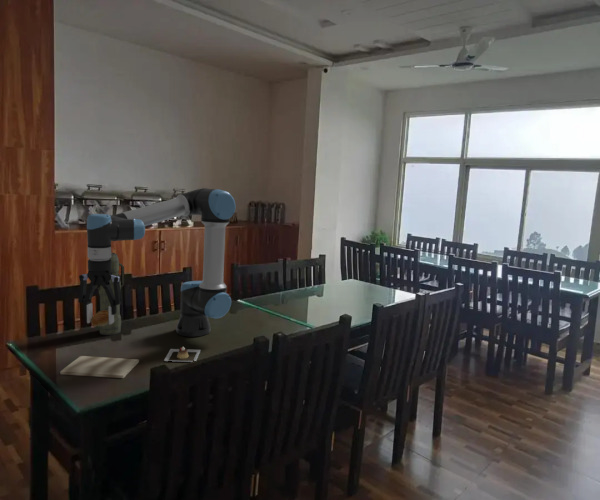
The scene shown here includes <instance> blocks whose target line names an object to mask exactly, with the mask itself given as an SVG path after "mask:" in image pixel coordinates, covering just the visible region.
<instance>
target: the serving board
mask: <svg viewBox="0 0 600 500" xmlns="http://www.w3.org/2000/svg"><path fill="white" fill-rule="evenodd" d="M139 362H140V359H138V358H137V359H136V358H123V357H122V358H119V357H105V356H104V357H103V356H90V355H89V356H88V355H87V356H86V355H80V356H78V358H76V359H75V360H73V361H72V362H71V363H69V364H68V365H67V366H65V367H64V368H63V369H62V370H60V373H59V374H60V375H67V376H69V375H70V376H84V377H85V376H86V377H98V378H99V377H100V378H116V379H124V378H126V376H127V375H128V374H129V373H130V372H131V371H132V370H133V369H134V368H135V367H136V366H137V365H138V364H139Z"/></svg>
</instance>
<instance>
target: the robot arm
mask: <svg viewBox="0 0 600 500" xmlns="http://www.w3.org/2000/svg"><path fill="white" fill-rule="evenodd" d="M235 212H236V201H235V198H234V197H233V196H232V195H231V193H230V192H228V191H226V190H222V189H218V188H217V189H215V188H203V187H202V188H198V189H197V188H196V189H194V190H191V191H187V192H184V193H180V194H178V195H176V197H174V198H172V199H168V200H167V199H166V200H164V201H160V202H156V203H153V204H149V205H146V206H143V207H138V208H135V209H130V210H127V211H124V212H120V213H116V214H108V213H107V214H105V213H91V214H89V215H87V219H86V236H87V237H86V238H87V242H86V243H87V258H88V260H87V270H88V271H87V273H82V274H80V275H79V276H78V280H79V291H78V292H79V293H78V303H80V304H83V307H84V309H83V310H84V313H85V314H86V323H87V324H91V323H92V321H91V319H92V318H93V316H94V315H93V314H94V313H93V309H94V308H93V306H94V305H93V302H92V301H91V300H92V298H93V295H94V292H95V290H96V286H97V285H100V286H103V288H104V289H105V292H106V294H107V297H108V299H109V302H110V304H111V305H110V306H109V324H112V323H114V315H115V314H116V312H117V309H116V306H117V305H119V304H120V305H121V304H122V302H123V298H122V291H121V290H120V281H121V275H119V276H114V275H113V274H112V272H111V259H109V258H111V253H112V242H118V241H135V240H137V241H138V240H141V239H144V237H145V234H146V227H148V226H150V225H154V224H157V223H160V222H164V221H167V220H171V219H174V218H177V217H181V216H182V217H189V216H201V218H200V220H201V221H200V222H201V224H203V225H204V237H203V239H204V240H203V267H202V280H191V281H185V282H182V283H181V286H180V290H179V292H180V315H179V318H178V321H177V323H176V326H175V327H176V329H175V331H176V334H178V335H180V336H182V337H188V338H190V337H191V338H193V337H194V338H195V337H203V336H206V335H208V334H210V333H211V324H210V321H209V318H211V319H215V320H217V319H221V318H223V317H224V316H225V315H226V314H227V313H228V312H229V311H230V309H231V306H232V298H231V296H230V295H229V293H227V290H228V289H227V288H228V287H227V285H226V283H225V282H224V274H225V272H224V271H225V269H224V268H225V247H226V228H227V226H228V225H229V224H230V219H231V218H232V217H233V215H234V214H235ZM111 279H112V281H113V286H114V294H115V296H114V294H113V291H112V289H111V284H110V280H111ZM88 280H89V281H90V283H89V285H88ZM87 285H88V289H87Z"/></svg>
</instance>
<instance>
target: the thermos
mask: <svg viewBox="0 0 600 500" xmlns="http://www.w3.org/2000/svg"><path fill="white" fill-rule="evenodd" d="M109 259H111V272H112V274H113V275H114V276H120V277H121V278H120V290H121V289H122V288H123V287H124V286H125V266H124V265H123V264H122V263H120V260H119V256H118V255H117V253H115V252H111V258H109ZM119 272H120V274H119ZM110 284H111V289H112V291H113V294H114V286H113V281H112V279H111V280H110ZM95 290H98V295H99V308H100V310H99V311H103V310H107V311H109V306H110V305H111V304H110V302H109V299H108V297H107V294H106V292H105V289H104V288H103V286H100V285H97V286H96V288H95ZM114 296H115V294H114ZM120 305H121V303H120V304H119V305H117V306H116V309H117V312H116V314H115V315H114V323H112V324H108V325H106V326H98V328H99V334H100V335H101V336H102V335H103V336H113V335H114V336H115V335H118V334H120V333H121V332H122V330H121V327H122V316H121V313H120V311H121V310H120V308H121V306H120Z"/></svg>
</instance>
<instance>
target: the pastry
mask: <svg viewBox="0 0 600 500" xmlns="http://www.w3.org/2000/svg"><path fill="white" fill-rule="evenodd" d="M91 321H92V322H91V326H93V327H99V326H106V325H108V324H109V311H107V310H103V311H100V310H99V311H98V312H96V313H95V314H94V315H93V318H92V319H91Z"/></svg>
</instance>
